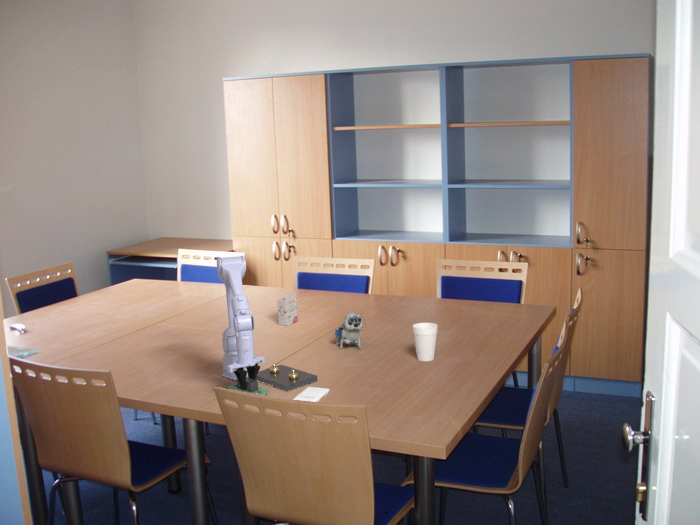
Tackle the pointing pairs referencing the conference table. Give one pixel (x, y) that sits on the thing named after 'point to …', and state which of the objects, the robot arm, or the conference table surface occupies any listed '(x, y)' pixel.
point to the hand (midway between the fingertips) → (247, 387)
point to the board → (262, 391)
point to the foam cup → (425, 340)
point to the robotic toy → (350, 330)
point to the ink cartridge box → (288, 309)
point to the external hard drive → (312, 394)
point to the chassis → (285, 377)
